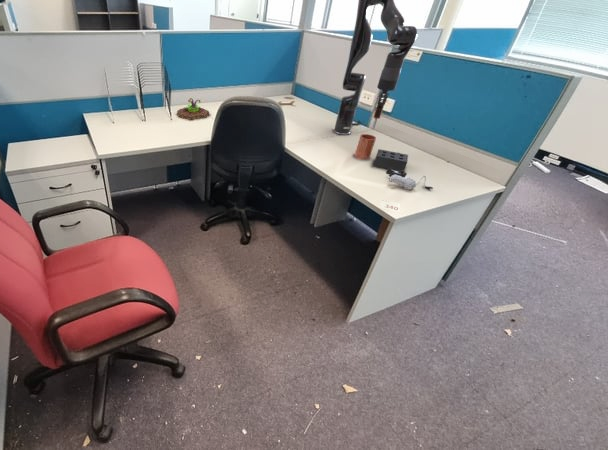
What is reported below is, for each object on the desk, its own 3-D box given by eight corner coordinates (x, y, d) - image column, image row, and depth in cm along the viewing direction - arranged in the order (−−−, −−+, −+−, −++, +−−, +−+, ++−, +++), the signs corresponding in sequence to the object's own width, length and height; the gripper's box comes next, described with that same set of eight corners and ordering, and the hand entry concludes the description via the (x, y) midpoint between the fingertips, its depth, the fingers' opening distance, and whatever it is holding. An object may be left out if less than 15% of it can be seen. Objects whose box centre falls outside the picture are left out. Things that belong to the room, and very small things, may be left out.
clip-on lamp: (421, 188, 151) (383, 174, 152) (430, 176, 147) (390, 162, 149) (429, 199, 141) (388, 184, 142) (438, 186, 137) (396, 171, 139)
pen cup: (355, 153, 175) (361, 133, 168) (370, 156, 172) (376, 135, 165) (353, 158, 169) (359, 137, 163) (368, 161, 167) (375, 140, 160)
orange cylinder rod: (370, 127, 163) (378, 101, 155) (376, 128, 162) (385, 102, 154) (369, 129, 161) (377, 103, 153) (375, 130, 159) (384, 103, 152)
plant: (171, 114, 222) (171, 97, 216) (193, 108, 233) (193, 92, 227) (191, 121, 211) (190, 103, 204) (213, 115, 221) (213, 98, 215)
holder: (374, 160, 168) (378, 149, 165) (403, 166, 163) (408, 154, 160) (372, 167, 161) (376, 155, 158) (402, 173, 156) (407, 162, 153)
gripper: (381, 74, 154) (370, 111, 164) (378, 79, 144) (366, 119, 154) (399, 76, 151) (386, 113, 161) (397, 82, 141) (384, 122, 151)
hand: (377, 116), depth 157 cm, fingers closed on orange cylinder rod, 3 cm apart
